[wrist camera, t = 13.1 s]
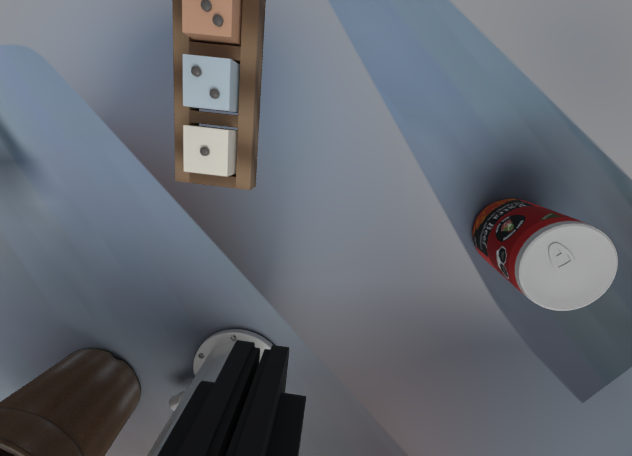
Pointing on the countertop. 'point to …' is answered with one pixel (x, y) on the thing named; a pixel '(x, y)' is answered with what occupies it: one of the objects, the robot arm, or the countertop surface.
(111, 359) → the plant pot
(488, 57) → the countertop surface
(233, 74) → the tile two pip
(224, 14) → the tile three pip
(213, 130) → the tile one pip
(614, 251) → the canned food
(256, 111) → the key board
